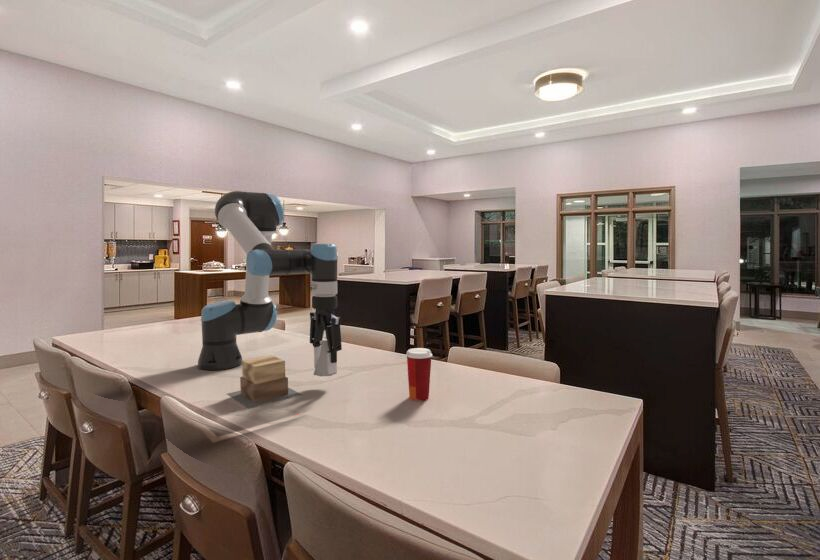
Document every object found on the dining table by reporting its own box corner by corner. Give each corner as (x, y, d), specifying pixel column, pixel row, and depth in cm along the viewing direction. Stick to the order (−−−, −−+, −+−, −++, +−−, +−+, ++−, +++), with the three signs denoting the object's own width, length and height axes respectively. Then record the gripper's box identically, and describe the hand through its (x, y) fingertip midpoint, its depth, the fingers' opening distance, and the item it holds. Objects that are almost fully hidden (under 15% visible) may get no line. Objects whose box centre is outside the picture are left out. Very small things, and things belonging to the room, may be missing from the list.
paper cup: (435, 394, 129) (435, 348, 128) (427, 403, 122) (427, 354, 121) (410, 392, 131) (410, 346, 130) (401, 400, 124) (401, 352, 123)
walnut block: (240, 393, 127) (240, 377, 127) (273, 386, 134) (272, 370, 134) (254, 402, 120) (254, 385, 119) (288, 394, 127) (287, 377, 126)
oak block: (242, 377, 127) (242, 360, 126) (271, 371, 133) (271, 355, 132) (255, 384, 120) (254, 366, 120) (285, 377, 126) (285, 360, 126)
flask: (332, 378, 128) (331, 344, 127) (309, 376, 129) (308, 343, 128) (340, 370, 135) (340, 339, 134) (319, 369, 136) (318, 338, 135)
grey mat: (226, 397, 127) (226, 393, 127) (277, 385, 138) (277, 382, 138) (248, 412, 116) (248, 408, 116) (302, 397, 126) (302, 394, 126)
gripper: (297, 292, 134) (298, 365, 136) (331, 299, 120) (332, 380, 122) (318, 291, 139) (319, 361, 141) (354, 297, 125) (354, 375, 127)
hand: (325, 369), depth 132 cm, fingers closed on flask, 7 cm apart
